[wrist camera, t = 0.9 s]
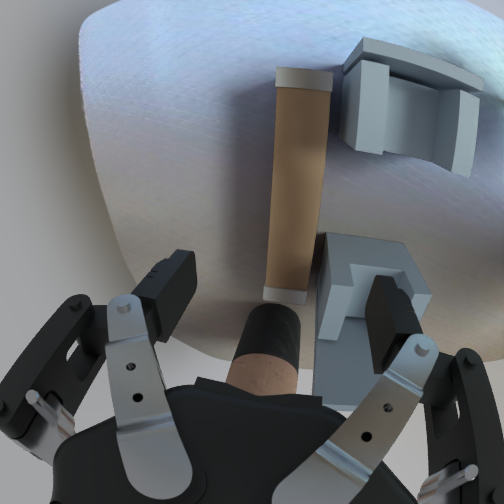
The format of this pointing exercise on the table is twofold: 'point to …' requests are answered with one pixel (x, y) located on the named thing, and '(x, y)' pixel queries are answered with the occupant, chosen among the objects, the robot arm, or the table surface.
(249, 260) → the table surface
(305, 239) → the brown wooden bar
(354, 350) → the pair of grey brackets
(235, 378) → the travel mug
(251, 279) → the table surface
